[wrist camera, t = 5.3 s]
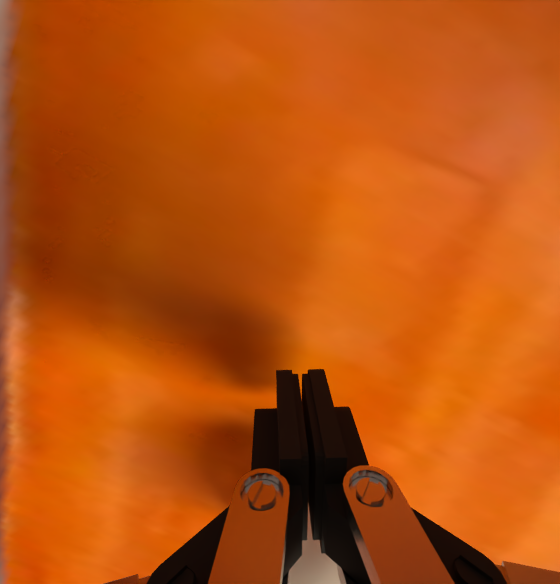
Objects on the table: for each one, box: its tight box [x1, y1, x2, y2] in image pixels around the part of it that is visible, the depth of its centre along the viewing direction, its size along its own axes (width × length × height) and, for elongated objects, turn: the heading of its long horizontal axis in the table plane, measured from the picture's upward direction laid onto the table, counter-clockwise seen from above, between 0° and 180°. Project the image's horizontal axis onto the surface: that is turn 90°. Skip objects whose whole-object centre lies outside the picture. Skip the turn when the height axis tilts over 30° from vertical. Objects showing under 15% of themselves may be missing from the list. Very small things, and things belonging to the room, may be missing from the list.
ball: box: [289, 504, 341, 584], centre depth 13 cm, size 6×6×6 cm
